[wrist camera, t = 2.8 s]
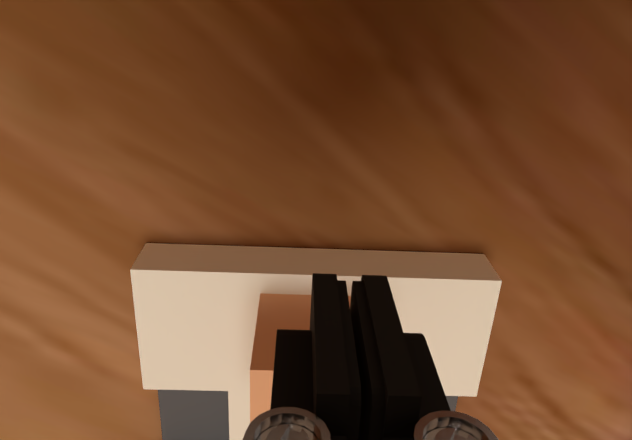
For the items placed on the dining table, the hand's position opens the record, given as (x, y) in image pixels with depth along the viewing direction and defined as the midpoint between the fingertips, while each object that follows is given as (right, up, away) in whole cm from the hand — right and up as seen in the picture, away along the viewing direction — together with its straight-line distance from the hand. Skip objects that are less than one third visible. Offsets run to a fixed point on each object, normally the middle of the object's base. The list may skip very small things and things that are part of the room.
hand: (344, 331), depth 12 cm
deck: (-1, -8, +17) cm, 19 cm away
